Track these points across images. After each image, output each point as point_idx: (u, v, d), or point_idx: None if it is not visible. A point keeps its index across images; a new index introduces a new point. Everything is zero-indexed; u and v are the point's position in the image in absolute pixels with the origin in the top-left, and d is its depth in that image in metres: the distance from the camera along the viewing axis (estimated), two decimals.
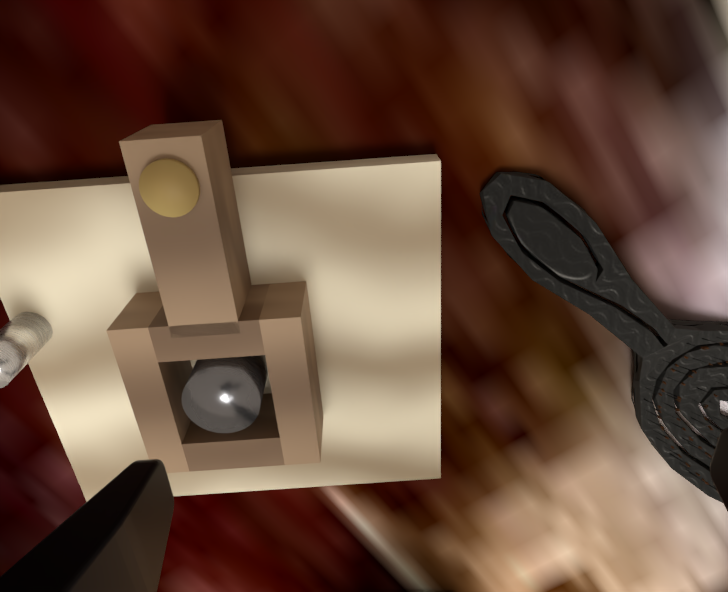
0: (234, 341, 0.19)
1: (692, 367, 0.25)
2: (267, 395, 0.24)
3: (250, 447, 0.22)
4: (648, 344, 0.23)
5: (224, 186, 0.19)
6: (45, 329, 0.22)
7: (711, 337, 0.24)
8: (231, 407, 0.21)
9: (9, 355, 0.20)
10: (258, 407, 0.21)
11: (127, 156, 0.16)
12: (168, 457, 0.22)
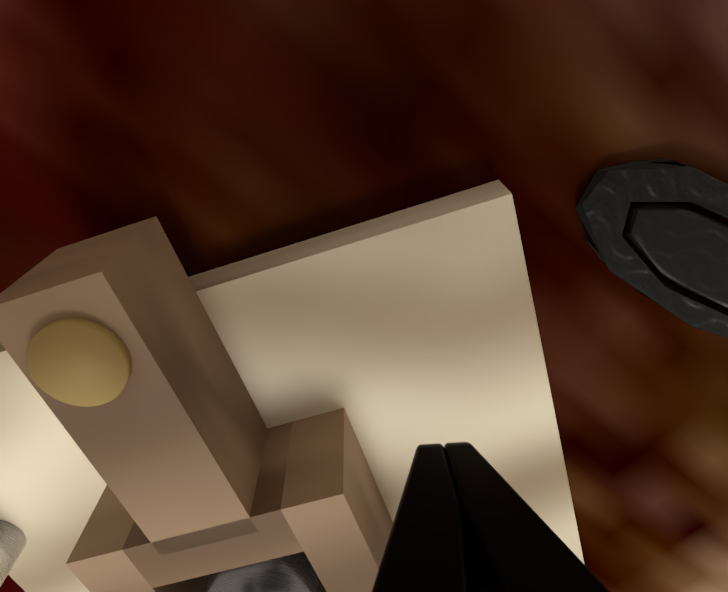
0: (253, 542, 0.13)
1: None
2: None
3: None
4: None
5: (180, 320, 0.12)
6: (12, 539, 0.16)
7: None
8: None
9: None
10: None
11: None
12: None
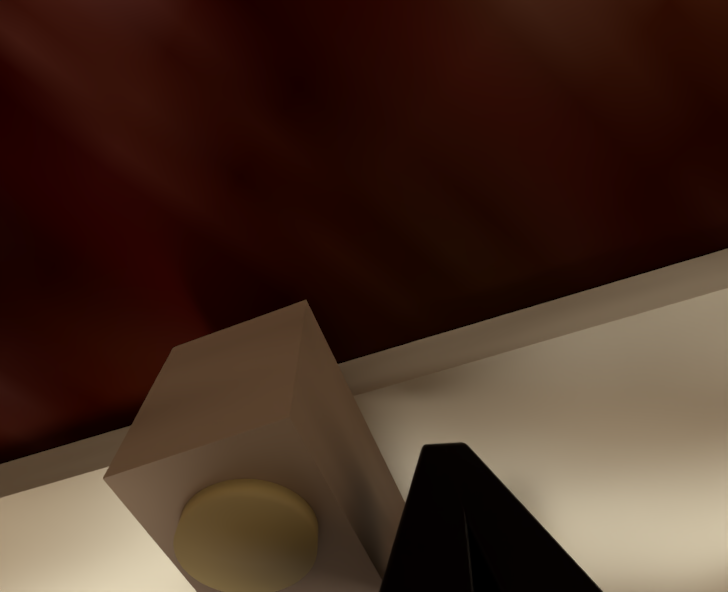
0: None
1: None
2: None
3: None
4: None
5: (351, 442, 0.09)
6: None
7: None
8: None
9: None
10: None
11: (132, 500, 0.07)
12: None
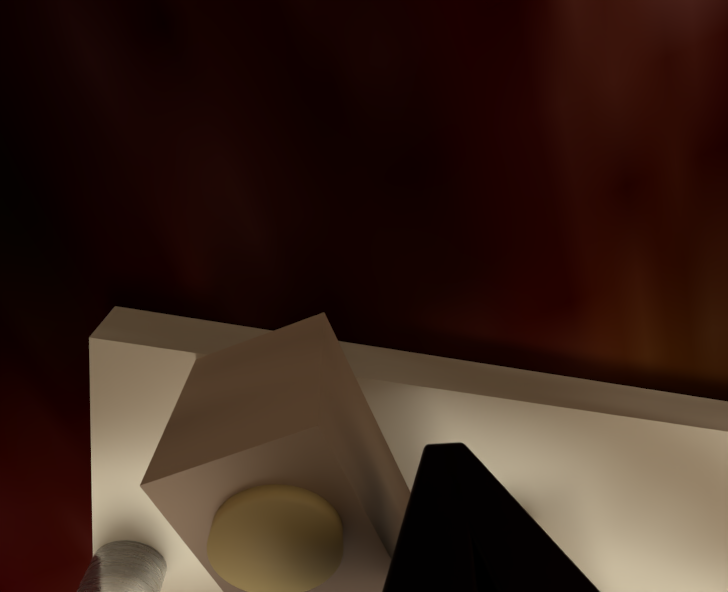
0: None
1: None
2: None
3: None
4: None
5: (369, 449, 0.09)
6: (161, 582, 0.12)
7: None
8: None
9: None
10: None
11: (167, 506, 0.07)
12: None
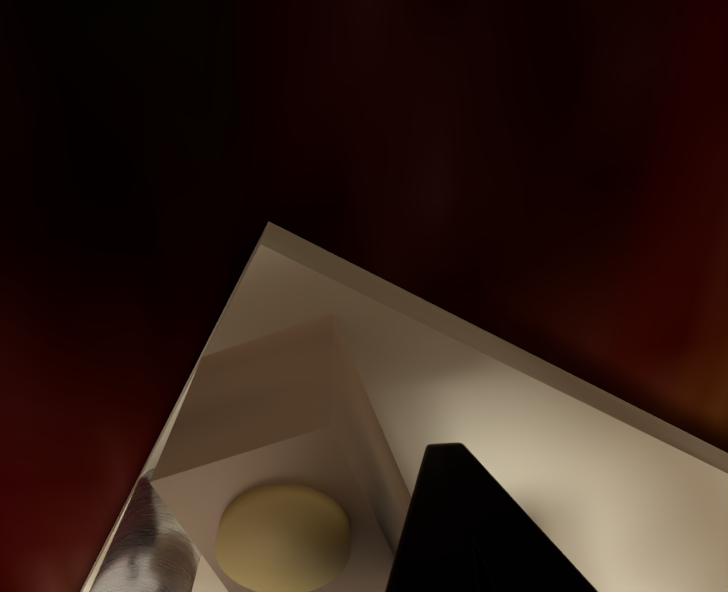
0: None
1: None
2: None
3: None
4: None
5: (374, 450, 0.09)
6: None
7: None
8: None
9: None
10: None
11: (176, 503, 0.07)
12: None
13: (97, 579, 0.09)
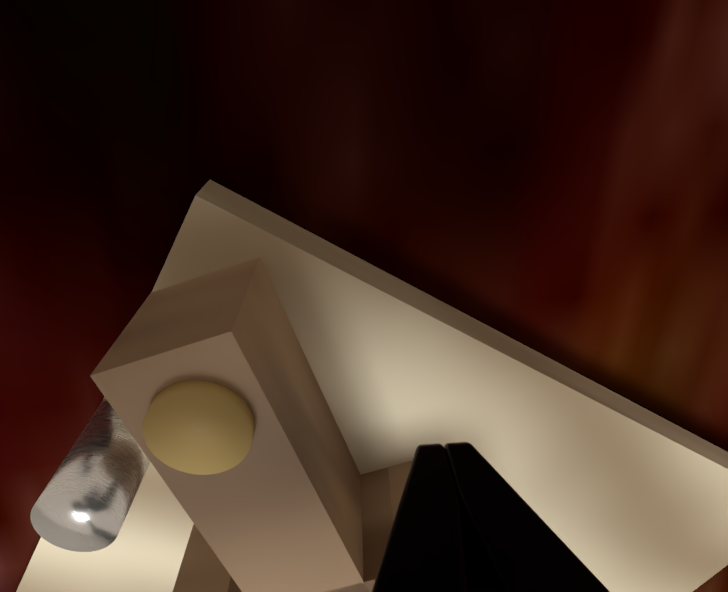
0: None
1: None
2: None
3: None
4: None
5: (290, 371, 0.11)
6: None
7: None
8: None
9: (126, 506, 0.10)
10: None
11: (112, 394, 0.09)
12: None
13: (58, 469, 0.10)
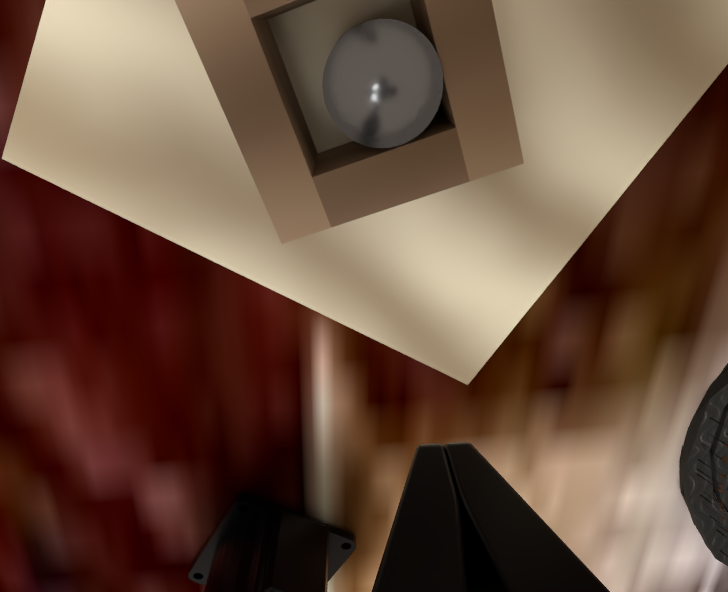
0: None
1: None
2: None
3: (413, 159, 0.14)
4: None
5: None
6: None
7: None
8: (390, 103, 0.13)
9: None
10: (423, 127, 0.14)
11: None
12: (296, 207, 0.15)
13: None
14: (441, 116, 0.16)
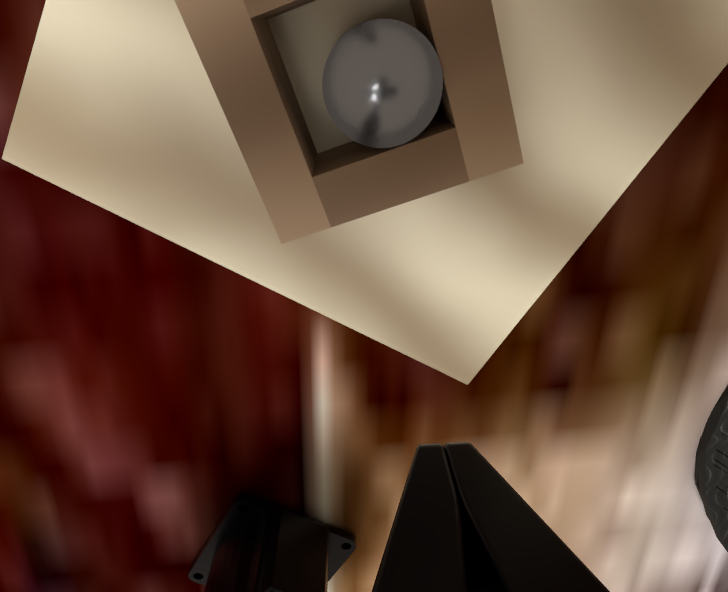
0: None
1: None
2: None
3: (413, 159, 0.14)
4: None
5: None
6: None
7: None
8: (390, 103, 0.13)
9: None
10: (423, 127, 0.14)
11: None
12: (296, 207, 0.15)
13: None
14: (441, 116, 0.16)
